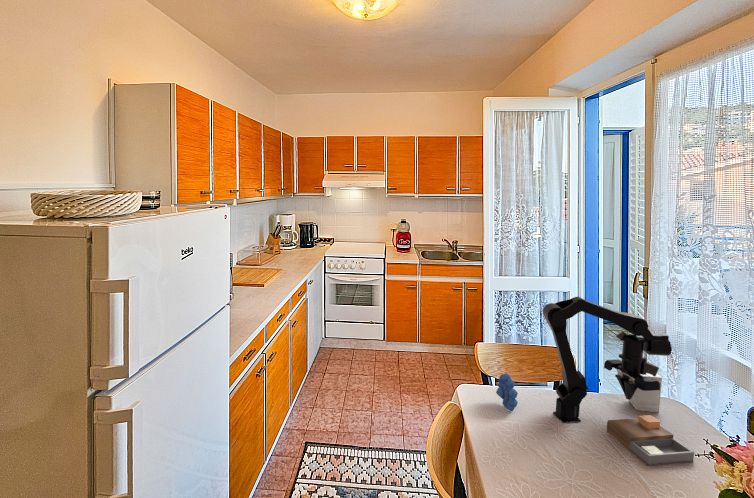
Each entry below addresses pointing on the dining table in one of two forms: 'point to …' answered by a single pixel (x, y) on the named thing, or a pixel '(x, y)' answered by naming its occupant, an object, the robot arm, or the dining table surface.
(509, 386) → the grapes
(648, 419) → the terracotta tile
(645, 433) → the walnut board
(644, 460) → the tray
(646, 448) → the sage tile
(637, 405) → the supplement box
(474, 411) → the dining table surface
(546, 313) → the robot arm
